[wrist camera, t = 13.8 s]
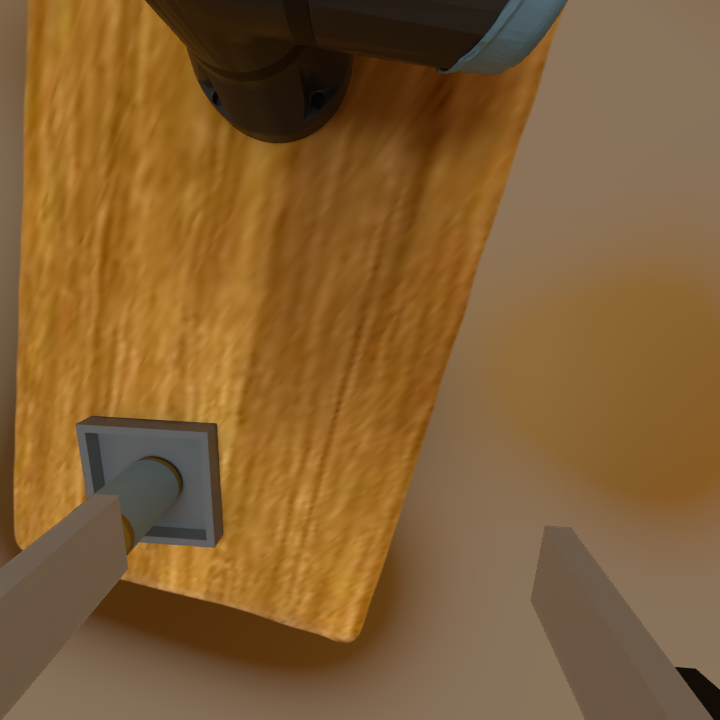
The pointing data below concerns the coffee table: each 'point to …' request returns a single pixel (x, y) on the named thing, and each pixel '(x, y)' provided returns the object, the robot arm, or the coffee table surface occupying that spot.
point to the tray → (168, 443)
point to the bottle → (143, 496)
